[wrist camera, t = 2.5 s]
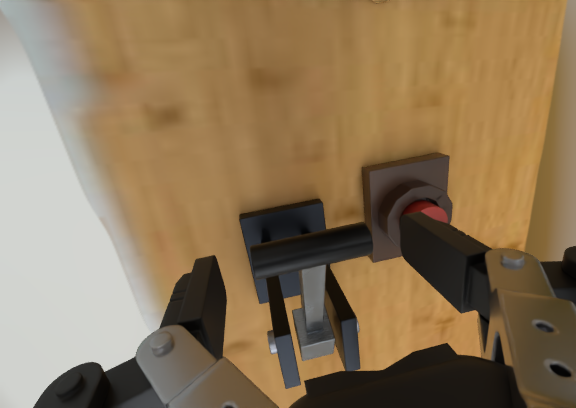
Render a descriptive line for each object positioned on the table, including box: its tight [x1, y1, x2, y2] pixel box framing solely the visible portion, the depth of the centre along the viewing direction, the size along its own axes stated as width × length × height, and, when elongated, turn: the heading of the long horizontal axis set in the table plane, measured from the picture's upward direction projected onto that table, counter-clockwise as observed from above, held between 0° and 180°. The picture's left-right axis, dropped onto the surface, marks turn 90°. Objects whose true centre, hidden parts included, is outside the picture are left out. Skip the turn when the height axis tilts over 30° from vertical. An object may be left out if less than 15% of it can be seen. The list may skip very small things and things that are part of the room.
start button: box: [402, 200, 448, 223], centre depth 25 cm, size 4×4×2 cm
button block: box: [362, 153, 452, 263], centre depth 27 cm, size 10×8×4 cm
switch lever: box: [250, 222, 373, 361], centre depth 15 cm, size 12×5×2 cm, turn 9°
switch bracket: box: [239, 199, 360, 389], centre depth 23 cm, size 10×8×13 cm
